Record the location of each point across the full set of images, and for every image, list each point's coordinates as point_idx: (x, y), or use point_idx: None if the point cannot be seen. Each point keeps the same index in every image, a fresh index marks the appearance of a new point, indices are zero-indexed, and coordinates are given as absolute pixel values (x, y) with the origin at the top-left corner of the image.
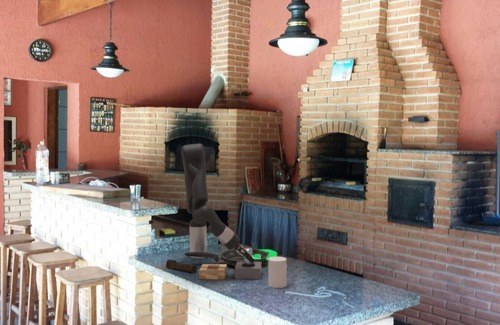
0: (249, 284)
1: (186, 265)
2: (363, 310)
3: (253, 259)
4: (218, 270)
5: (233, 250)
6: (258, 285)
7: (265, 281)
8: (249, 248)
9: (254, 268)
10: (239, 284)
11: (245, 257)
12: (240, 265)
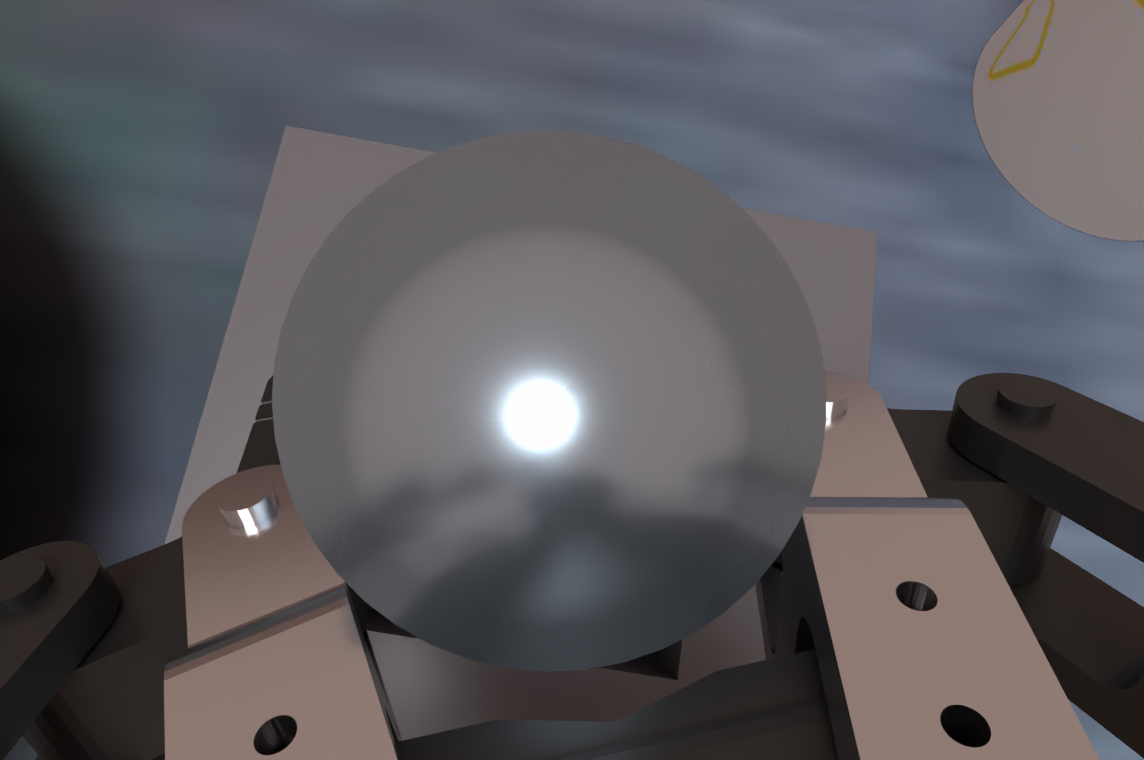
0: (1087, 540)
1: None
2: None
3: None
4: None
5: None
6: (1133, 394)
7: (921, 255)
8: (490, 287)
9: (866, 365)
10: (1095, 730)
11: (1098, 614)
12: (550, 711)
